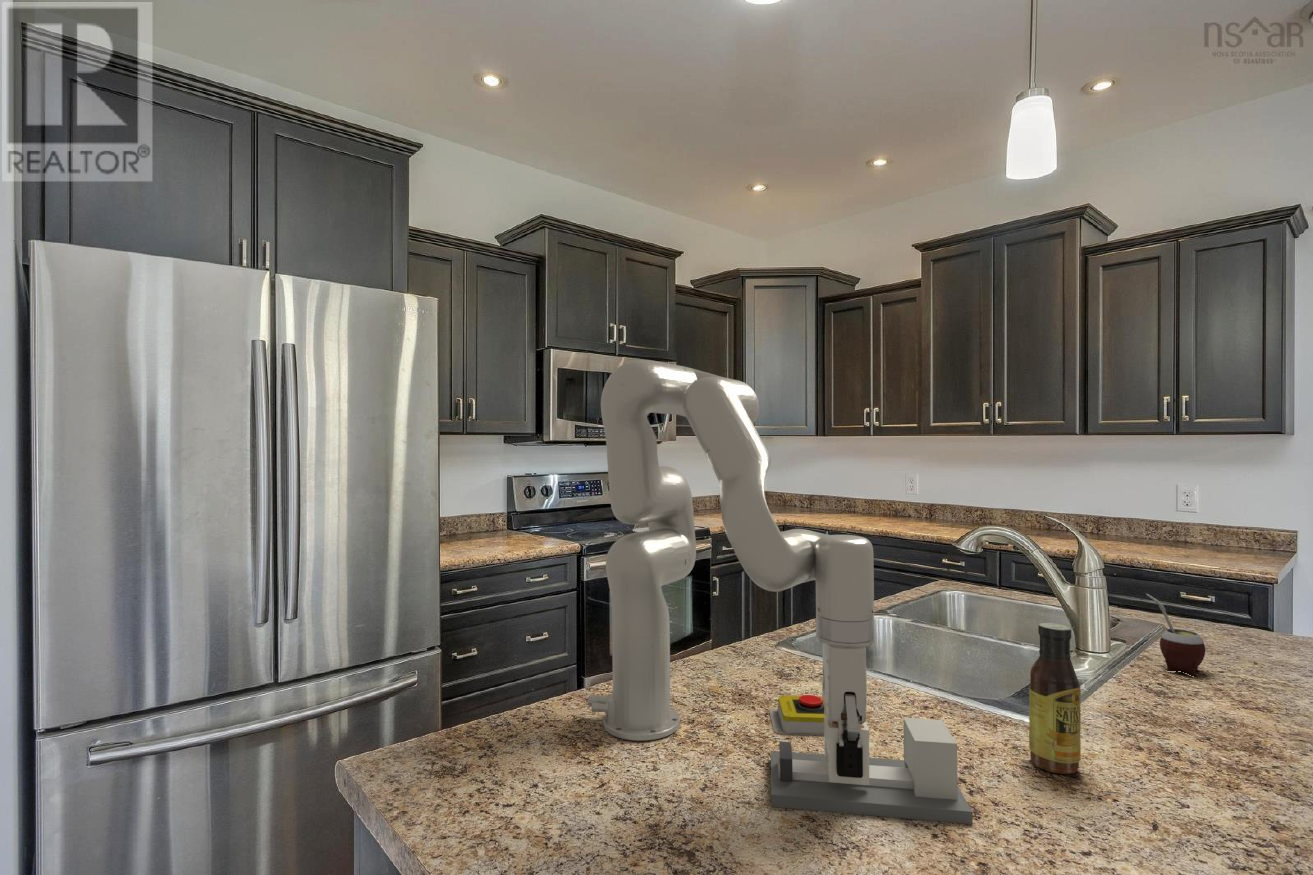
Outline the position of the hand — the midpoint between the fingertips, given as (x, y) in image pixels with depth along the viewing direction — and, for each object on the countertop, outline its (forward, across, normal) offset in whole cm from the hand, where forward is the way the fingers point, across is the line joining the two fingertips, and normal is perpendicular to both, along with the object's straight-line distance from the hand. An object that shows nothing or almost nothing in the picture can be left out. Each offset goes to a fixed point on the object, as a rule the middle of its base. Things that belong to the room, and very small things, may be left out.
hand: (846, 760), depth 86 cm
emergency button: (+4, -20, -2) cm, 21 cm away
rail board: (+4, 0, +2) cm, 4 cm away
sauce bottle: (+4, -11, +30) cm, 32 cm away
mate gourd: (+4, -56, +71) cm, 91 cm away
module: (+1, 0, 0) cm, 1 cm away
